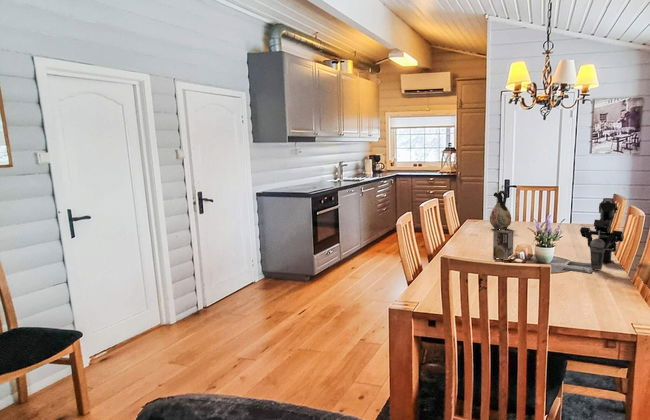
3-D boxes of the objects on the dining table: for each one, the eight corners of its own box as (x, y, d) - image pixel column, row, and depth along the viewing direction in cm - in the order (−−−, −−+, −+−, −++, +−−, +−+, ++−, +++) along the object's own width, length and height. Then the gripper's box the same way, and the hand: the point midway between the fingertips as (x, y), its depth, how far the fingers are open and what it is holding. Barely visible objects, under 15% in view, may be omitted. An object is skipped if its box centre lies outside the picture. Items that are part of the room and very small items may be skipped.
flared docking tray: (595, 266, 234) (596, 263, 233) (590, 273, 222) (590, 269, 222) (568, 263, 242) (568, 259, 241) (562, 269, 230) (562, 266, 230)
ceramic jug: (485, 228, 344) (485, 189, 340) (501, 226, 349) (502, 188, 344) (499, 232, 328) (500, 191, 324) (517, 230, 333) (518, 190, 328)
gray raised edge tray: (596, 266, 233) (596, 266, 233) (591, 273, 222) (591, 272, 222) (568, 263, 241) (568, 262, 241) (562, 269, 231) (562, 268, 231)
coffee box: (513, 259, 253) (514, 231, 251) (507, 261, 249) (508, 233, 247) (498, 256, 260) (498, 229, 258) (492, 258, 256) (493, 231, 254)
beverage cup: (602, 266, 230) (604, 228, 227) (606, 270, 223) (609, 231, 220) (586, 266, 232) (588, 228, 228) (590, 270, 225) (592, 231, 222)
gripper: (582, 211, 232) (572, 236, 227) (623, 215, 218) (614, 241, 213) (586, 224, 239) (578, 248, 233) (627, 228, 225) (619, 254, 219)
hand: (596, 247), depth 224 cm, fingers closed on beverage cup, 7 cm apart
